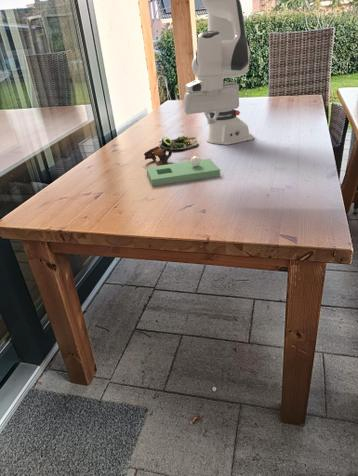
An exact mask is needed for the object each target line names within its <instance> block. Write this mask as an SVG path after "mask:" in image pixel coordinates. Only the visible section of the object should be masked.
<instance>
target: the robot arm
mask: <svg viewBox="0 0 358 476" xmlns="http://www.w3.org/2000/svg"><path fill="white" fill-rule="evenodd" d="M201 4H202V6H203V7H204V8H205V10H206V11H207V30H206V31H202V32H200V33H199V34H198V35H197V44H196V50H195V55H194V57H193V59H192V62H191V69H192V73H193V75H194V76H195V77H196V79H195V80H192V81H190V82H188V83H186V84H185V90H186V91H185V93H184V94H183V106H182V107H183V108H182V109H183V112H184V113H185V114H186V115H192V114H203V113H204V114H203V115H204V116H205V118H206V119H207V125H208V133H207V138H206V142H208V143H211V144H216V145H217V144H218V145H225V146H228V145H232V144H236V143H237V144H238V143H243V142H246V141H247V140H248V141H252V140H254V139H253V138H254V135H253V134H252V132H250V131H249V130H250V129H249V126H248V125H247V123H246V122H245V121H243V120H241V118H239V117H237V116H239V115H240V114H241V112H240V110H237V109H238V108H239V107H240V97H239V91H240V84H239V83H238V82H236V81H232V80H231V81H224V79H230V78H231V79H234V78H238V77H242V76H244V75H246V74H247V72H248V70H249V68H250V57H251V51H250V47H249V44H248V40H247V36H246V35H247V34H246V33H247V32H246V27H245V19H244V15H243V8H242V4H241V1H240V0H201ZM248 141H247V142H248Z"/></svg>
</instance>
